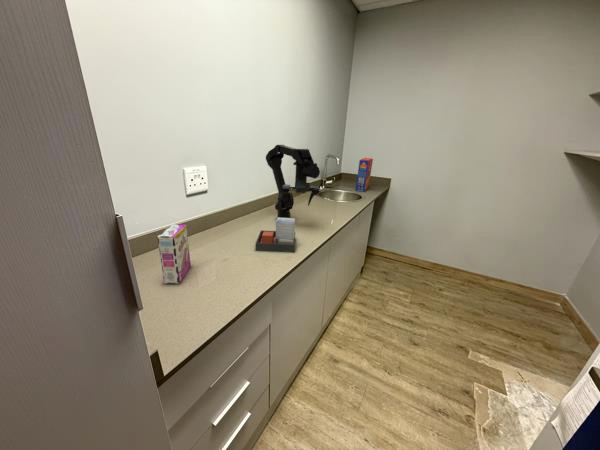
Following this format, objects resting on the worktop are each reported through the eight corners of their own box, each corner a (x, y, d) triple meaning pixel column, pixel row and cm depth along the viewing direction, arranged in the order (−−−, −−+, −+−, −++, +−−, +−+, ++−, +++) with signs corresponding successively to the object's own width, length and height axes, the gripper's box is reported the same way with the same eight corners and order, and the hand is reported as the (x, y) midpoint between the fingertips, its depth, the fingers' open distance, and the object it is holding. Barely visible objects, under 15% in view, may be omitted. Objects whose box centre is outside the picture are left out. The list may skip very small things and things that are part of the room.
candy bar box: (180, 284, 77) (173, 237, 71) (163, 284, 76) (155, 236, 71) (192, 266, 87) (186, 223, 82) (177, 266, 87) (171, 223, 81)
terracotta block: (262, 244, 106) (262, 235, 104) (263, 240, 110) (263, 231, 108) (272, 245, 106) (272, 235, 104) (273, 240, 110) (273, 231, 108)
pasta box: (364, 192, 222) (368, 160, 212) (355, 190, 225) (359, 160, 215) (368, 186, 246) (372, 158, 236) (360, 185, 249) (364, 158, 239)
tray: (255, 250, 101) (255, 243, 100) (260, 237, 115) (260, 230, 113) (294, 252, 102) (294, 244, 100) (294, 238, 115) (295, 232, 114)
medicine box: (294, 236, 108) (295, 218, 105) (293, 240, 104) (294, 221, 101) (277, 235, 109) (277, 217, 106) (275, 239, 105) (275, 220, 102)
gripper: (281, 176, 113) (280, 208, 118) (321, 178, 113) (318, 210, 118) (282, 173, 123) (282, 202, 129) (319, 175, 123) (317, 204, 129)
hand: (299, 205), depth 126 cm, fingers open, 9 cm apart
